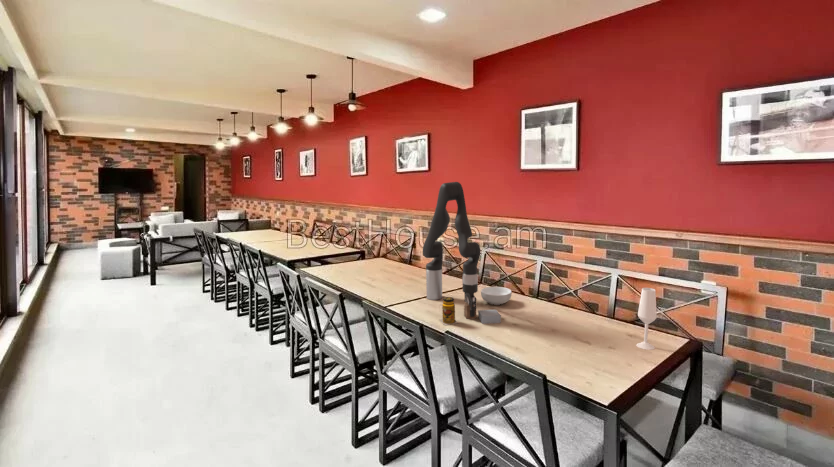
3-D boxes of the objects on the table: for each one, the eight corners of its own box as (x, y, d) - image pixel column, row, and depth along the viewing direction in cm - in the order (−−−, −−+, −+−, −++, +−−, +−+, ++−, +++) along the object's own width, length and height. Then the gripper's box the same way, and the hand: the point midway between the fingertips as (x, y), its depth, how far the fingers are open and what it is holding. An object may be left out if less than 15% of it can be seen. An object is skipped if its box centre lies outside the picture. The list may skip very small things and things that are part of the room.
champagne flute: (638, 341, 176) (641, 286, 172) (656, 345, 172) (659, 288, 168) (634, 346, 171) (637, 289, 167) (653, 351, 166) (656, 292, 163)
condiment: (444, 325, 200) (444, 301, 198) (438, 319, 208) (438, 296, 206) (458, 323, 202) (458, 299, 200) (452, 317, 210) (451, 294, 208)
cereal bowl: (475, 300, 237) (475, 288, 236) (499, 296, 244) (499, 284, 243) (492, 309, 222) (492, 296, 221) (517, 304, 228) (517, 292, 227)
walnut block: (464, 315, 213) (464, 302, 212) (473, 315, 213) (473, 301, 212) (466, 319, 208) (466, 305, 207) (476, 318, 208) (476, 304, 207)
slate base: (478, 317, 210) (478, 310, 209) (495, 317, 210) (496, 309, 210) (482, 324, 201) (482, 316, 200) (500, 323, 201) (500, 315, 201)
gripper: (459, 279, 214) (459, 309, 217) (466, 286, 200) (466, 319, 203) (473, 278, 215) (473, 309, 218) (481, 285, 201) (481, 318, 204)
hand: (470, 313), depth 210 cm, fingers open, 7 cm apart
